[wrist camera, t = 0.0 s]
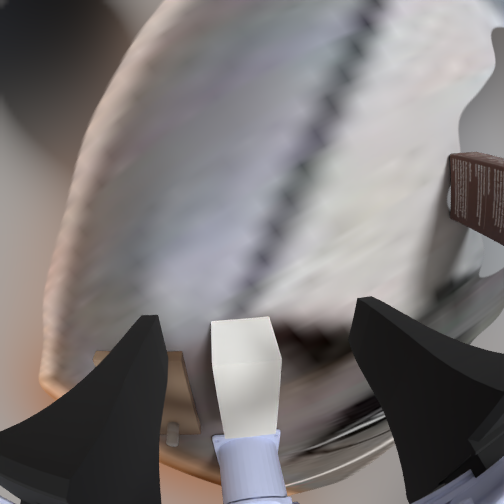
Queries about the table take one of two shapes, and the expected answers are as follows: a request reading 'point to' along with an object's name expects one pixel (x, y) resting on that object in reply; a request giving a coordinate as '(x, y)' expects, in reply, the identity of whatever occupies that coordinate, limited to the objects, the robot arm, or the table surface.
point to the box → (478, 193)
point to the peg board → (174, 400)
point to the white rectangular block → (246, 375)
